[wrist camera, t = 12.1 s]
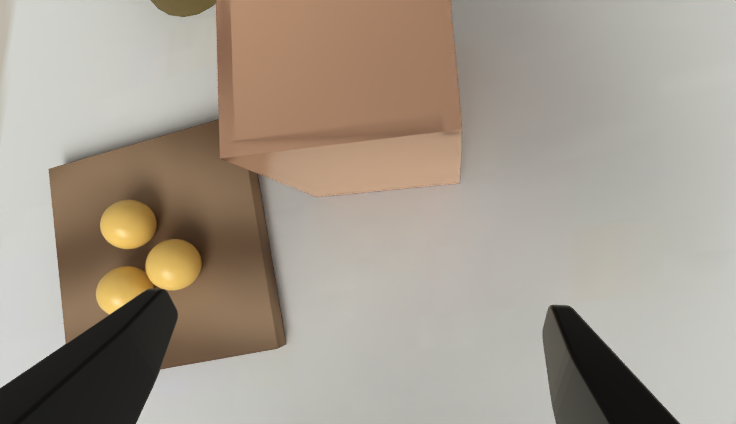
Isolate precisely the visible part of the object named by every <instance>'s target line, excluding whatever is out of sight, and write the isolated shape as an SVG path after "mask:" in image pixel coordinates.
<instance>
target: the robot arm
mask: <svg viewBox="0 0 736 424" xmlns="http://www.w3.org/2000/svg"><path fill="white" fill-rule="evenodd" d="M177 319H178V311H177V309H176V307H175V305H174V303H173V301H172V299H171V297H170V295H169V293H168V292H167V291H166V290H165V289H155V288H151V289H147V290H145V291H144V292H142V293H141V294H139V295H138V296H136V297H135V298H133V299H132V300H130V301H129V302H127V303H126V304H124V305H123V306H121V307H120V308H119V309H117V310H116V311H114V312H113V313H111V314H110V315H108V316H107V317H105V318H104V319H102V320H101V321H99V322H98V323H96V324H95V325H93V326H92V327H90V328H89V329H87V330H86V331H85V332H83V333H82V334H80V335H79V336H77V337H76V338H74V339H73V340H71V341H70V342H68V343H67V344H65V345H64V346H62V347H61V348H59V349H58V350H56V351H55V352H53V353H52V354H50V355H49V356H47V357H46V358H45V359H43V360H42V361H40V362H39V363H37V364H36V365H34V366H33V367H31V368H30V369H28V370H27V371H25V372H24V373H22V374H21V375H19V376H18V377H16V378H15V379H13V380H12V381H10V382H9V383H7V384H6V385H5V386H3V387H2V388H0V424H136V422H137V420H138V418H139V416H140V414H141V411H142V409H143V407H144V405H145V403H146V401H147V399H148V396H149V394H150V392H151V390H152V388H153V386H154V383H155V381H156V379H157V376H158V374H159V371H160V368H161V366H162V363H163V360H164V357H165V354H166V351H167V348H168V346H169V343H170V340H171V337H172V334H173V331H174V328H175V325H176V323H177ZM543 345H544V352H545V359H546V366H547V373H548V380H549V388H550V395H551V401H552V407H553V412H554V416H555V420H556V424H680V423H679V422H678V421H677V420H676V419H675V418H674V417H673V416H672V415H671V413H670V412H669V411H668V410H667V409H666V408H665V407H664V406H663V405H662V404H661V403H660V402H659V401H658V400H657V398H656V397H655V396H654V395H653V394H652V393H651V392H650V391H649V390H648V389H647V388H646V387H645V386H644V384H643V383H642V382H641V381H640V380H639V379H638V378H637V377H636V376H635V375H634V374H633V373H632V372H631V370H630V369H629V368H628V367H627V366H626V365H625V364H624V363H623V362H622V361H621V360H620V359H619V358H618V356H617V355H616V354H615V353H614V352H613V351H612V350H611V349H610V348H609V347H608V346H607V345H606V344H605V342H604V341H603V340H602V339H601V338H600V337H599V336H598V335H597V334H596V333H595V332H594V331H593V330H592V328H591V327H590V326H589V325H588V324H587V323H586V322H585V321H584V320H583V319H582V318H581V317H580V316H579V314H578V313H577V312H576V311H575V310H574V309H573V308H572V307H570V306H567V305H551V306H550V307H549V308H548V311H547V315H546V319H545V323H544V326H543Z"/></svg>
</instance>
